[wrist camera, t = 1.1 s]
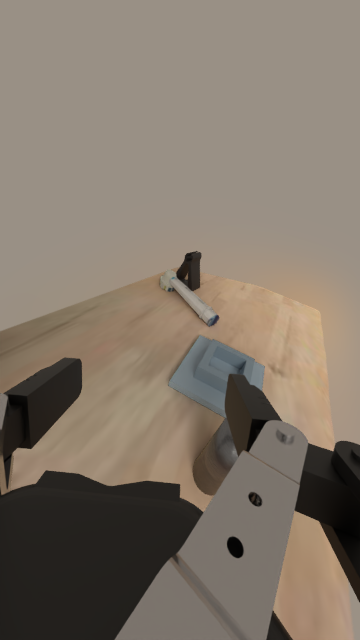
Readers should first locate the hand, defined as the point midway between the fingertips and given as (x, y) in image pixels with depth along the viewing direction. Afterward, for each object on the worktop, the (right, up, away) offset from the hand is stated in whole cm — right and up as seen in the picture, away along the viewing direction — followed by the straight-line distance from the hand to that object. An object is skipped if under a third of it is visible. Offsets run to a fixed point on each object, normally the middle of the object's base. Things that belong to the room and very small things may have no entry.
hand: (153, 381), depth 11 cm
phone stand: (+3, +16, +62) cm, 64 cm away
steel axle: (+5, -17, +16) cm, 24 cm away
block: (+10, -8, +30) cm, 33 cm away
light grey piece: (+3, +8, +52) cm, 52 cm away
